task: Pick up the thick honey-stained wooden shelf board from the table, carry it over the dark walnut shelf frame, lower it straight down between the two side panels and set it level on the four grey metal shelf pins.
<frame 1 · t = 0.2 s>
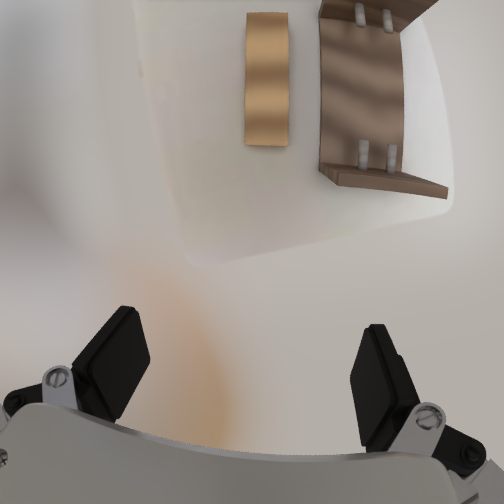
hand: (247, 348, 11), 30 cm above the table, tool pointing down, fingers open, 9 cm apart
shelf frame: (363, 91, 31), on the table
shelf board: (269, 83, 33), on the table
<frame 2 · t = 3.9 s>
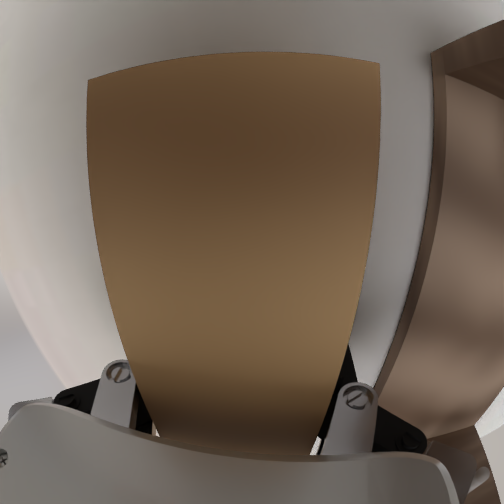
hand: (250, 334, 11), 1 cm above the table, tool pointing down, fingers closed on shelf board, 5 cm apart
shelf frame: (483, 317, 11), on the table
shelf board: (252, 320, 12), on the table, touching gripper
when the fingers open (10 cm above the table, at t = 10.3 s): shelf board drops 1 cm, resting on shelf frame.
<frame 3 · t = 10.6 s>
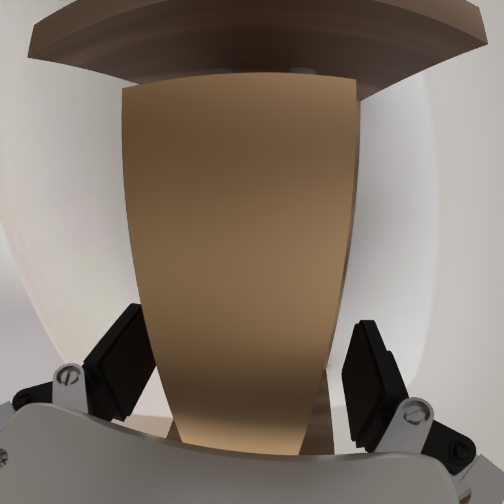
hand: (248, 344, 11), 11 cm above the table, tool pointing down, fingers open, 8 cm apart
shelf frame: (265, 249, 21), on the table
shelf board: (254, 304, 14), point 8 cm above the table, touching shelf frame
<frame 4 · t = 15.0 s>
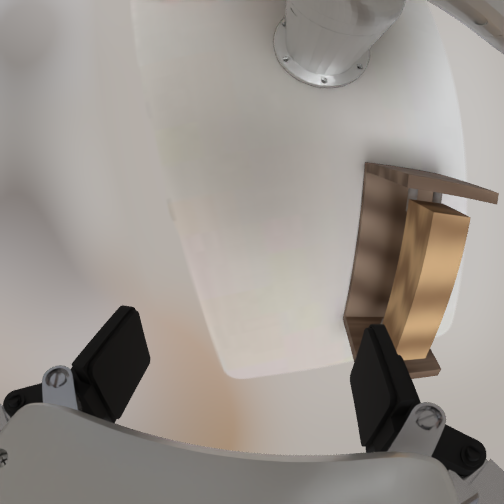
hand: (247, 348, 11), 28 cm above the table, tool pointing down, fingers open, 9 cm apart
shelf frame: (393, 250, 37), on the table
shelf board: (412, 272, 30), point 8 cm above the table, touching shelf frame
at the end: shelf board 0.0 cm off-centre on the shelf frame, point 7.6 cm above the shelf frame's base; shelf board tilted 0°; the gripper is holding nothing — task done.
